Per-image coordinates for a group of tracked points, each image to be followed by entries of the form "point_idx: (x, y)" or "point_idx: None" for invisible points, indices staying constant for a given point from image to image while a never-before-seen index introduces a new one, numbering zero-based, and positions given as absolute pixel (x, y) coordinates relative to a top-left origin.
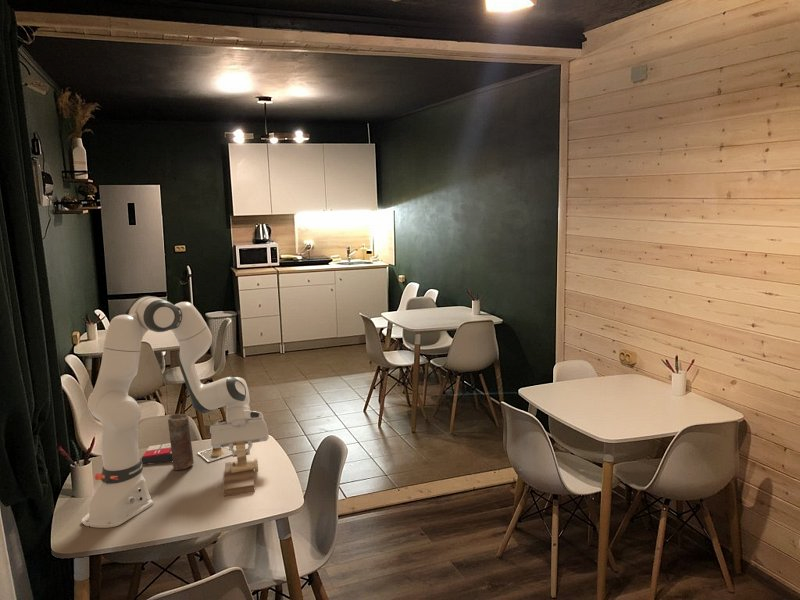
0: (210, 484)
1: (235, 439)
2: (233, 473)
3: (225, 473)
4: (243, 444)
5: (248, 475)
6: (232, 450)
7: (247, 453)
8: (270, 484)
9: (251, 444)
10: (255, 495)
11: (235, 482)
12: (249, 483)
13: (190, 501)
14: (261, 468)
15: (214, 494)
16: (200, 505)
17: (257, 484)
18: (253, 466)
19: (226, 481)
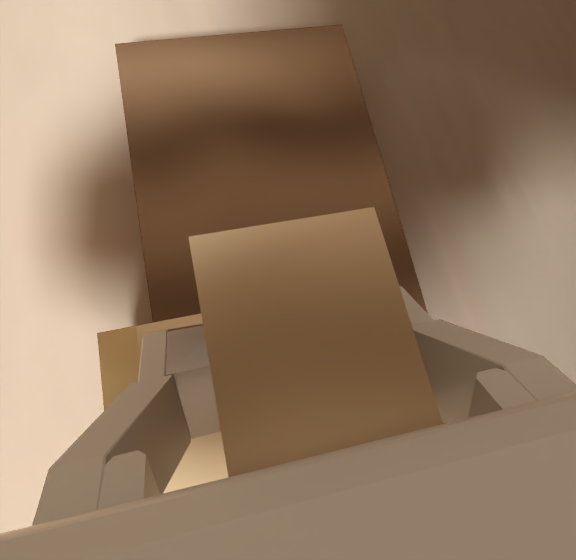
0: (487, 252)
1: (496, 457)
2: None
3: (412, 288)
4: (224, 290)
5: (185, 209)
6: (435, 324)
7: (181, 330)
8: (11, 169)
9: (72, 451)
10: (117, 40)
11: (276, 109)
12: (155, 73)
13: (521, 55)
14: None
15: (404, 106)
16: (442, 2)
17: (119, 187)
18: (144, 325)
19: (356, 141)
